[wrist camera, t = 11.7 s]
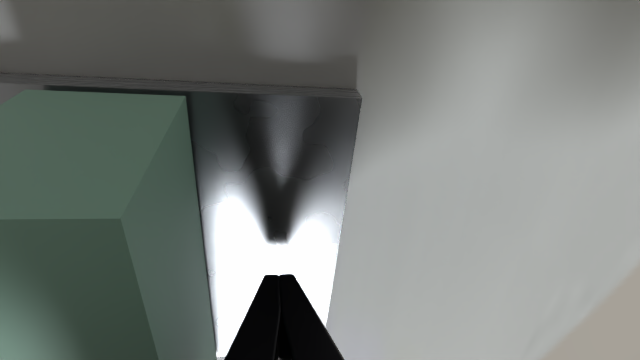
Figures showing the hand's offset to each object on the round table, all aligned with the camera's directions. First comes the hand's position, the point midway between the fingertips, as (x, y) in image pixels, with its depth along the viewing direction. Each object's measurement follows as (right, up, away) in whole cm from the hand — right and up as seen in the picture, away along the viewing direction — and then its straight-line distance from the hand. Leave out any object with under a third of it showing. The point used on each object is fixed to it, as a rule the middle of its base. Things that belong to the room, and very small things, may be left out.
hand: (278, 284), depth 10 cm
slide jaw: (-4, 0, 0) cm, 4 cm away
